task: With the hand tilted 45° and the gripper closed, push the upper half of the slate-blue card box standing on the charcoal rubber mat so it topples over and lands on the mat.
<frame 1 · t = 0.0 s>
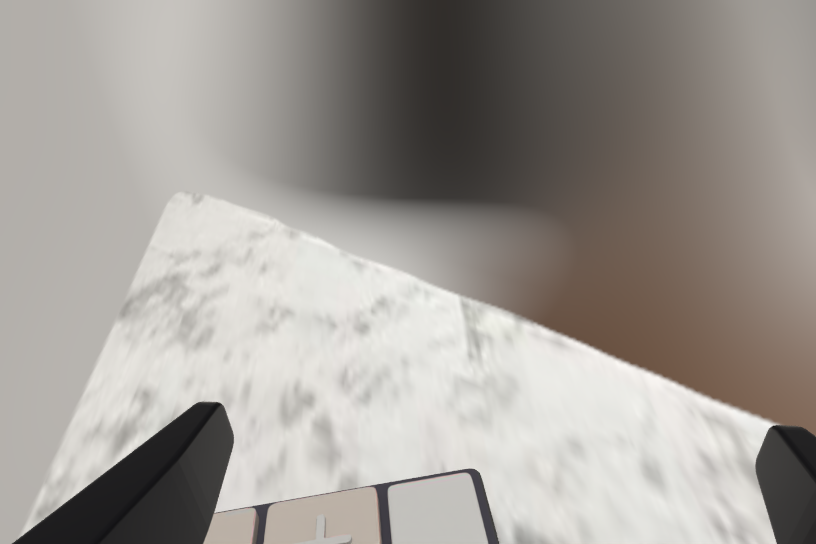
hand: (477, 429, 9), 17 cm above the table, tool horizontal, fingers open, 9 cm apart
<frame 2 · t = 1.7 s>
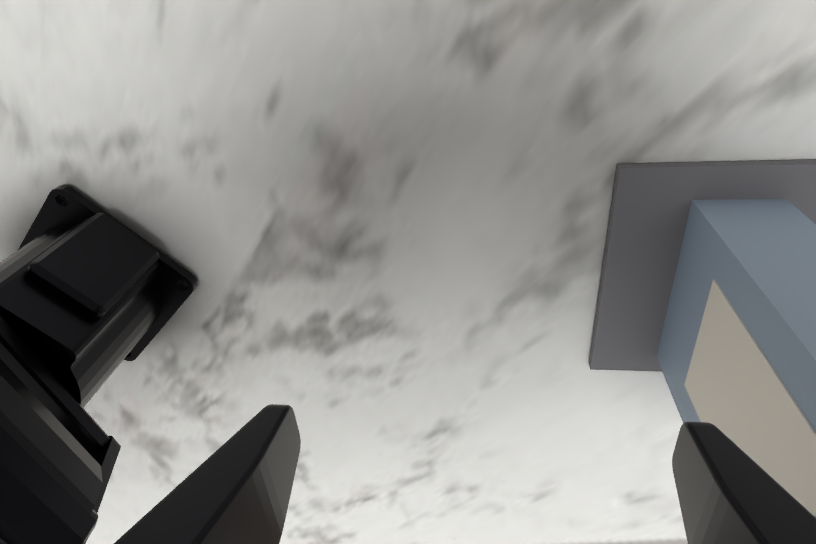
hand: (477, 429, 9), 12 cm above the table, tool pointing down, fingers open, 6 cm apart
card box: (715, 285, 20), resting on mat
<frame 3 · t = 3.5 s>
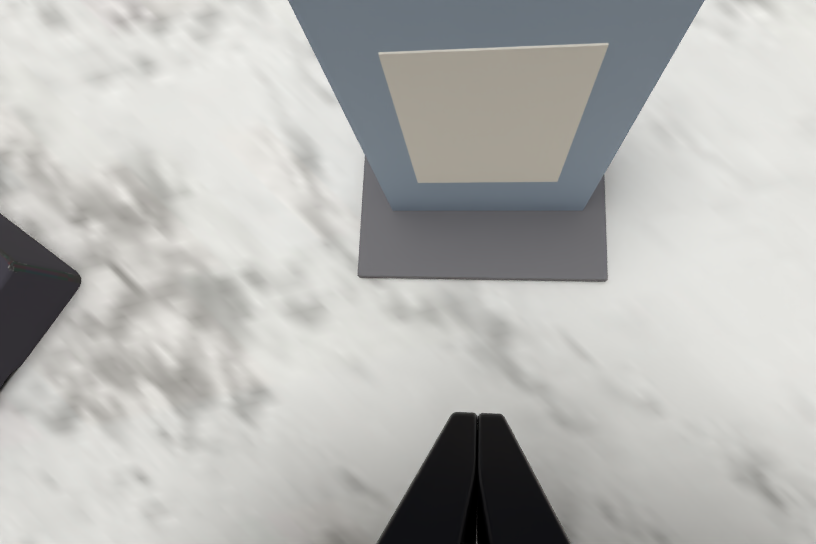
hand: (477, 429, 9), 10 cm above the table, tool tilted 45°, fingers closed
mat: (481, 83, 22), on the table
card box: (486, 172, 21), resting on mat
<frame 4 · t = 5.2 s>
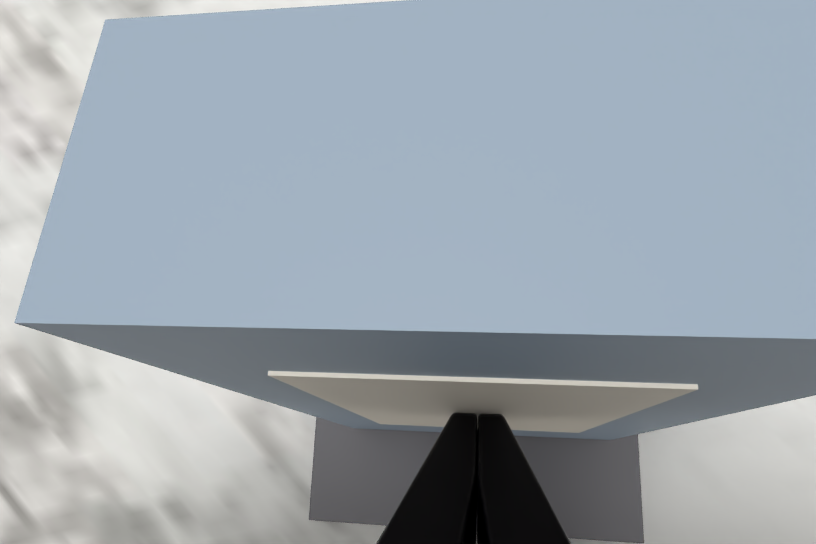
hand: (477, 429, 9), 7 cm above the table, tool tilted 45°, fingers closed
mat: (472, 250, 17), on the table
card box: (478, 379, 15), point 1 cm above the table, tilted 6°, touching gripper, mat
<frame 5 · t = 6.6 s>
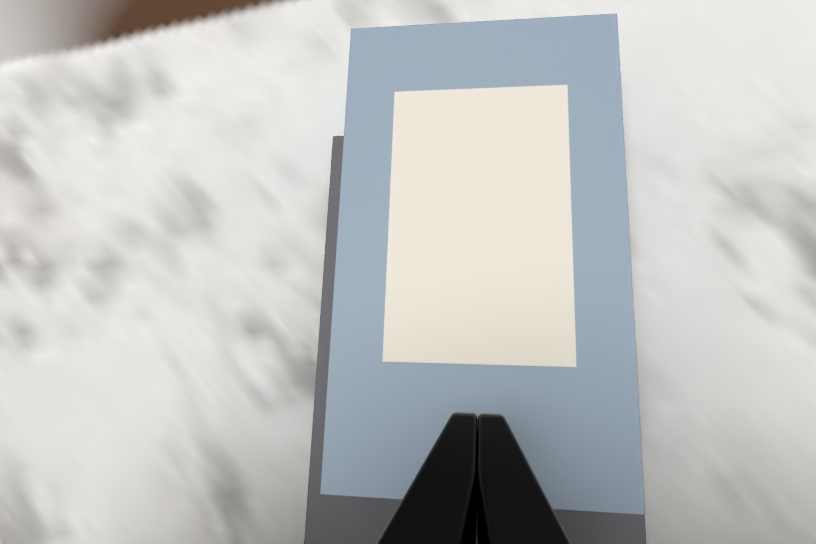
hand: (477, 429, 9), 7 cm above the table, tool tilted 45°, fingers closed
mat: (470, 394, 16), on the table
card box: (476, 492, 13), point 2 cm above the table, tilted 90°, touching mat
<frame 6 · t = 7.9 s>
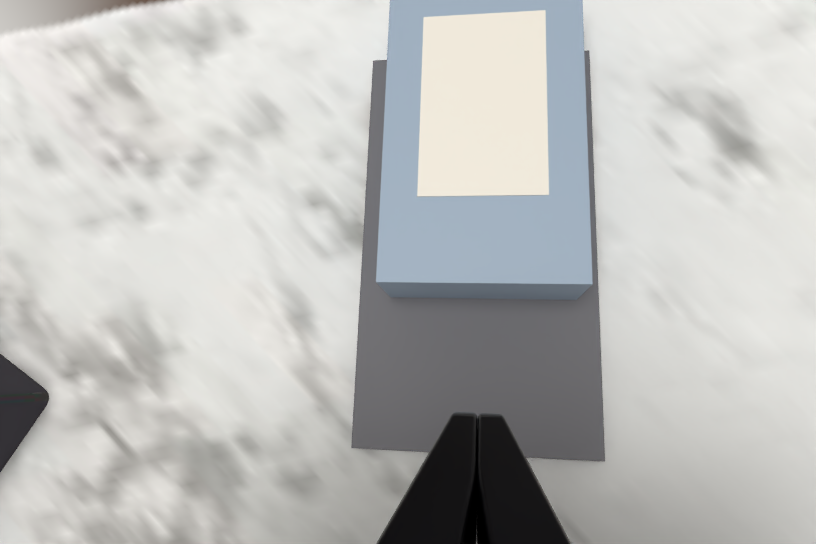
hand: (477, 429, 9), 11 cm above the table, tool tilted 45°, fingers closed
mat: (476, 241, 22), on the table
card box: (481, 291, 19), point 2 cm above the table, tilted 90°, touching mat
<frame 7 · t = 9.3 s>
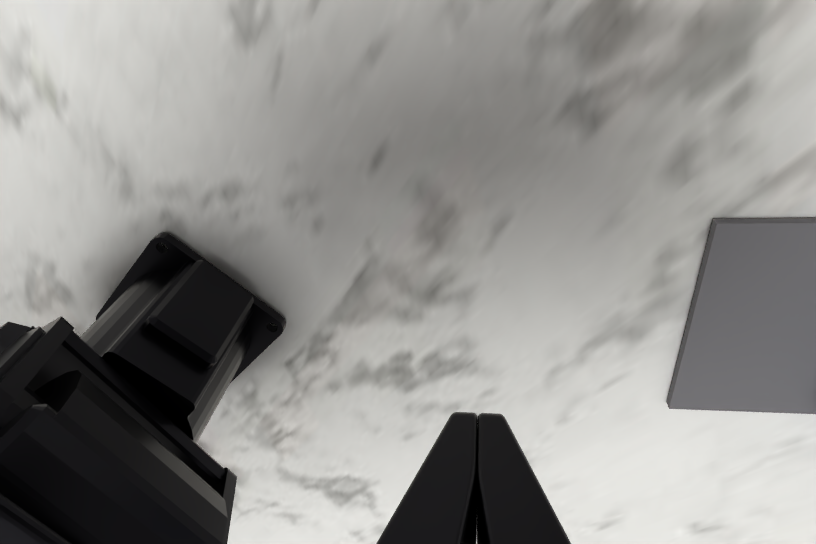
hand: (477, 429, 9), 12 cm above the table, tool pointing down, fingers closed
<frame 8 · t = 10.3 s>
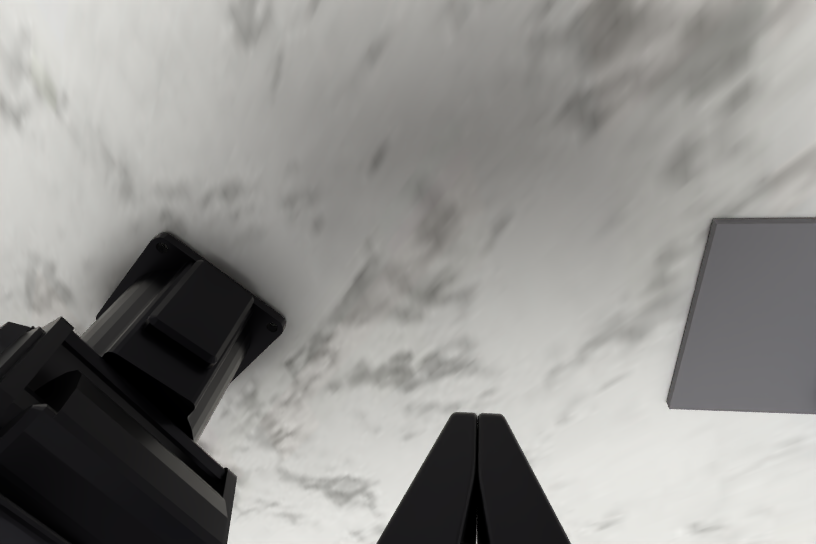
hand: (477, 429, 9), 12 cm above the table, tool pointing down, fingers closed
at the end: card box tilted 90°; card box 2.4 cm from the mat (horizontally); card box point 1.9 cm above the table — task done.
